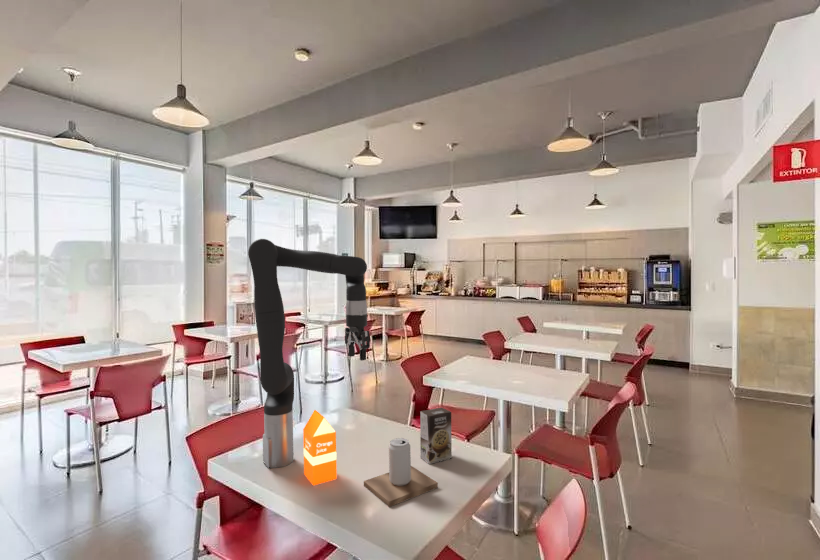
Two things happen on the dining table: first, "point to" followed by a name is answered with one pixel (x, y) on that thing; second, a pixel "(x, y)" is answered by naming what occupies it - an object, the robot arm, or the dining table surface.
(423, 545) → the dining table surface
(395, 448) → the beverage can
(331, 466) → the orange juice
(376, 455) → the dining table surface
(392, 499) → the walnut board
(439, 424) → the coffee box
